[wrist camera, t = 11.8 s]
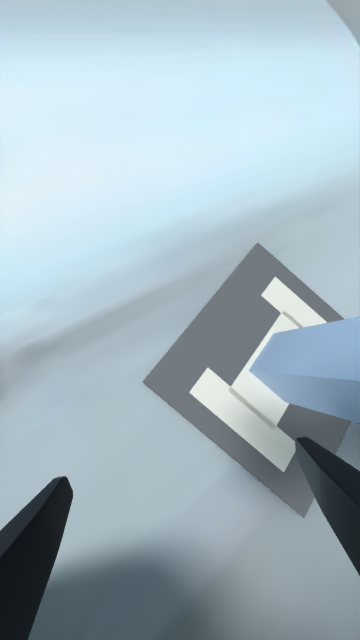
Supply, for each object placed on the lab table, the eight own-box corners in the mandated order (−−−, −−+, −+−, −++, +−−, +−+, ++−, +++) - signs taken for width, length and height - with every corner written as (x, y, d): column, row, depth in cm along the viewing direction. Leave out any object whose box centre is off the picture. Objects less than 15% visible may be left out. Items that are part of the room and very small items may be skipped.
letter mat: (379, 353, 26) (384, 353, 25) (300, 515, 21) (304, 519, 20) (256, 244, 25) (258, 242, 25) (142, 382, 20) (142, 382, 20)
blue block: (307, 363, 23) (507, 367, 11) (284, 401, 22) (481, 457, 9) (273, 333, 23) (435, 301, 11) (248, 370, 22) (398, 384, 9)
